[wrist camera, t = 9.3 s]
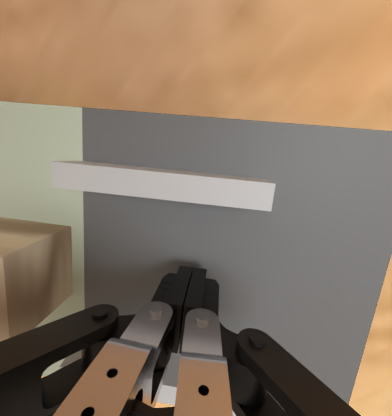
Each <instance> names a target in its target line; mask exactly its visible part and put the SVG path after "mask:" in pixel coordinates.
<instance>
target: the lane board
mask: <svg viewBox="0 0 392 416" xmlns="http://www.w3.org/2000/svg"><path fill="white" fill-rule="evenodd" d="M1 217H4V218H12V219H19V220H27V221H35V222H42V223H50V224H57V225H65V226H71V232H72V293H73V294H72V295H71V296H70V297H69V298H67V299H66V300H65V301H64V302H63V303H62V304H61V305H60V306H59V307H57V308H56V309H55V310H54V311H53V312H52V313H51V314H50V315H49V316H48V317H46V318H45V319H44V320H43V321H42V322H41V323H40V324H39V325H38V326H36V327H35V328H37V327H40V326H42V325H45V324H47V323H50V322H53V321H55V320H58V319H61V318H63V317H66V316H68V315H71V314H74V313H76V312H79V311H81V310H84V309H87V308H89V307H92V306H95V305H99V304H109V305H113V306H115V307H116V308H117V309H118V311H119V316H121V315H133V314H137V312H138V311H139V309H140V308H141V307H142V306H143V305H144V304H146V303H149V302H151V300H152V298H153V296H154V294H155V292H156V290H157V288H158V286H159V284H160V282H161V280H162V278H163V277H164V276H165V275H167V274H168V273H174V274H177V271H178V269H179V266H180V265H182V266H189V267H193V269H194V267H196V268H203V269H207V273H206V278H209V279H215V280H216V281H217V283H218V284H219V310H218V318H219V321H220V323H221V324H222V325H223V326H224V327H225V328H226V329H228V330H230V331H232V332H234V333H236V334H239V332H240V331H241V330H243V329H246V328H255V329H258V330H261V331H263V332H265V333H267V334H268V335H269V336H270V337H271V338H273V339H274V340H275V341H276V342H277V343H278V344H279V345H281V346H282V347H283V348H284V349H285V350H286V351H287V352H289V353H290V354H291V355H292V356H293V357H294V358H295V359H297V360H298V361H299V362H300V363H301V364H302V365H303V366H305V367H306V368H307V369H308V370H309V371H310V372H311V373H313V374H314V375H315V376H316V377H317V378H318V379H319V380H321V381H322V382H323V383H324V384H325V385H326V386H327V387H329V388H330V389H331V390H332V391H333V392H334V393H335V394H337V395H338V396H339V397H340V398H341V399H342V400H343V401H345V402H346V403H347V404H349V401H350V397H351V394H352V390H353V387H354V383H355V380H356V376H357V373H358V369H359V366H360V362H361V359H362V355H363V352H364V348H365V345H366V341H367V338H368V334H369V331H370V327H371V324H372V320H373V317H374V313H375V310H376V306H377V303H378V299H379V296H380V292H381V289H382V285H383V282H384V278H385V275H386V271H387V268H388V264H389V261H390V257H391V254H392V131H383V130H370V129H356V128H343V127H330V126H317V125H304V124H291V123H278V122H265V121H252V120H239V119H226V118H213V117H200V116H187V115H174V114H161V113H148V112H135V111H122V110H109V109H96V108H83V107H70V106H57V105H44V104H31V103H17V102H4V101H0V218H1ZM179 349H180V345H179ZM179 349H178V353H172V354H171V357H170V361H169V362H168V370H167V373H166V376H165V379H164V381H163V384H162V387H161V390H160V393H159V396H158V398H157V401H156V402H160V403H165V404H171V405H175V400H176V391H177V383H178V375H179V366H180V358H181V354H179ZM80 358H82V357H81V350H80V351H78V352H76V353H74V354H72V355H70V356H68V357H66V358H64V359H62V360H60V361H58V362H56V363H54V364H52V365H51V366H49V367H48V368H47V369H46V370H45V371H44V372H43V374H42V375H44V376H47V375H49V374H51V373H53V372H55V371H57V370H59V369H61V368H63V367H65V366H67V365H69V364H71V363H72V362H74V361H76V360H78V359H80ZM268 393H269V392H268ZM269 394H270V393H269ZM270 395H271V394H270ZM275 401H276V400H275ZM276 402H277V401H276ZM277 403H278V402H277ZM282 409H283V408H282ZM283 410H284V409H283ZM232 413H233V416H236V415H235V413H234V412H233V410H232Z"/></svg>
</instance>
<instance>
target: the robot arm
mask: <svg viewBox="0 0 392 416" xmlns="http://www.w3.org/2000/svg"><path fill="white" fill-rule="evenodd" d="M206 273H207V269H203V268H196V267H194V269H193V267H189V266H182V265H180V266H179V269H178V271H177V274H174V273H168V274H167V275H165V276H164V277H163V278H162V280H161V282H160V284H159V286H158V288H157V290H156V292H155V294H154V296H153V298H152V300H151V302H149V303H146V304H144V305H143V306H142V307H141V308H140V309H139V311H138V312H137V314H133V315H121V316H119V311H118V309H117V308H116V307H115V306H113V305H109V304H99V305H95V306H92V307H89V308H87V309H84V310H81V311H79V312H76V313H74V314H71V315H68V316H66V317H63V318H61V319H58V320H55V321H53V322H50V323H47V324H45V325H42V326H40V327H37V328H34V329H32V330H29V331H27V332H24V333H21V334H19V335H16V336H14V337H11V338H8V339H6V340H3V341H0V416H233V413H232V410H233V412H234V413H235V415H236V416H361V415H359V414H358V413H357V412H356V411H355V410H354V409H353V408H351V407H350V406H349V405H348V404H347V403H346V402H345V401H343V400H342V399H341V398H340V397H339V396H338V395H337V394H335V393H334V392H333V391H332V390H331V389H330V388H329V387H327V386H326V385H325V384H324V383H323V382H322V381H321V380H319V379H318V378H317V377H316V376H315V375H314V374H313V373H311V372H310V371H309V370H308V369H307V368H306V367H305V366H303V365H302V364H301V363H300V362H299V361H298V360H297V359H295V358H294V357H293V356H292V355H291V354H290V353H289V352H287V351H286V350H285V349H284V348H283V347H282V346H281V345H279V344H278V343H277V342H276V341H275V340H274V339H273V338H271V337H270V336H269V335H268V334H267V333H265V332H263V331H261V330H258V329H255V328H246V329H243V330H241V331H240V332H239V334H236V333H234V332H232V331H230V330H228V329H226V328H225V327H224V326H223V325H222V324H221V323H220V321H219V318H218V310H219V284H218V283H217V281H216V280H215V279H209V278H206ZM179 345H180V349H179ZM178 349H179V354H181V358H180V366H179V375H178V383H177V391H176V400H175V407H166V408H154V407H155V404H156V401H157V398H158V396H159V393H160V390H161V387H162V384H163V381H164V379H165V376H166V373H167V370H168V362H169V361H170V357H171V354H172V353H178ZM80 350H81V357H82V358H80V359H78V360H76V361H74V362H72V363H71V364H69V365H67V366H65V367H63V368H61V369H59V370H57V371H55V372H53V373H51V374H49V375H47V376H46V377H44V378H41V376H42V374H43V372H44V371H45V370H46V369H47V368H48V367H49V366H51V365H52V364H54V363H56V362H58V361H60V360H62V359H64V358H66V357H68V356H70V355H72V354H74V353H76V352H78V351H80ZM268 392H269V393H270V394H271V395H270V394H269V393H268ZM275 400H276V401H277V402H278V403H277V402H276V401H275ZM282 408H283V409H284V410H283V409H282Z"/></svg>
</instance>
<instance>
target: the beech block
mask: <svg viewBox="0 0 392 416" xmlns="http://www.w3.org/2000/svg"><path fill="white" fill-rule="evenodd" d="M72 294H73V293H72V232H71V226H65V225H57V224H50V223H42V222H35V221H27V220H19V219H12V218H4V217H1V218H0V341H3V340H6V339H8V338H11V337H14V336H16V335H19V334H21V333H24V332H27V331H29V330H32V329H34V328H35V327H36V326H38V325H39V324H40V323H41V322H42V321H43V320H44V319H45V318H46V317H48V316H49V315H50V314H51V313H52V312H53V311H54V310H55V309H56V308H57V307H59V306H60V305H61V304H62V303H63V302H64V301H65V300H66V299H67V298H69V297H70V296H71V295H72Z"/></svg>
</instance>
